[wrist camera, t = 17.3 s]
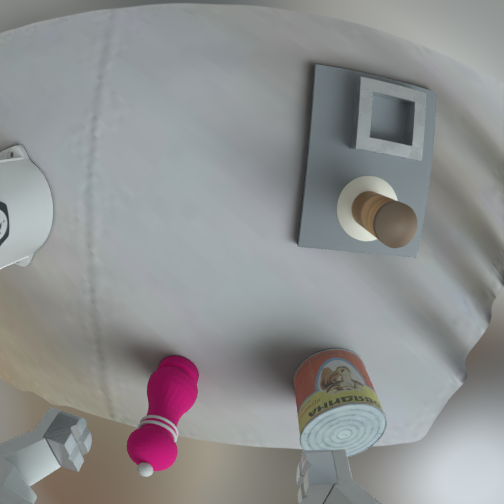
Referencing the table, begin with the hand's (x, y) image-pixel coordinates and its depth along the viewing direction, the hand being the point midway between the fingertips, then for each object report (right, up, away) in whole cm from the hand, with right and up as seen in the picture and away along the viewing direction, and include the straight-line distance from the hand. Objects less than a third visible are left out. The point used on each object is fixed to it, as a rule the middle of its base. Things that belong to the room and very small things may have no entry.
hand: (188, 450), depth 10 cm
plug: (+16, +12, +27) cm, 34 cm away
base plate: (+17, +18, +27) cm, 36 cm away
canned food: (+14, -12, +36) cm, 41 cm away
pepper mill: (-9, -11, +36) cm, 39 cm away
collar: (+18, +23, +24) cm, 37 cm away
